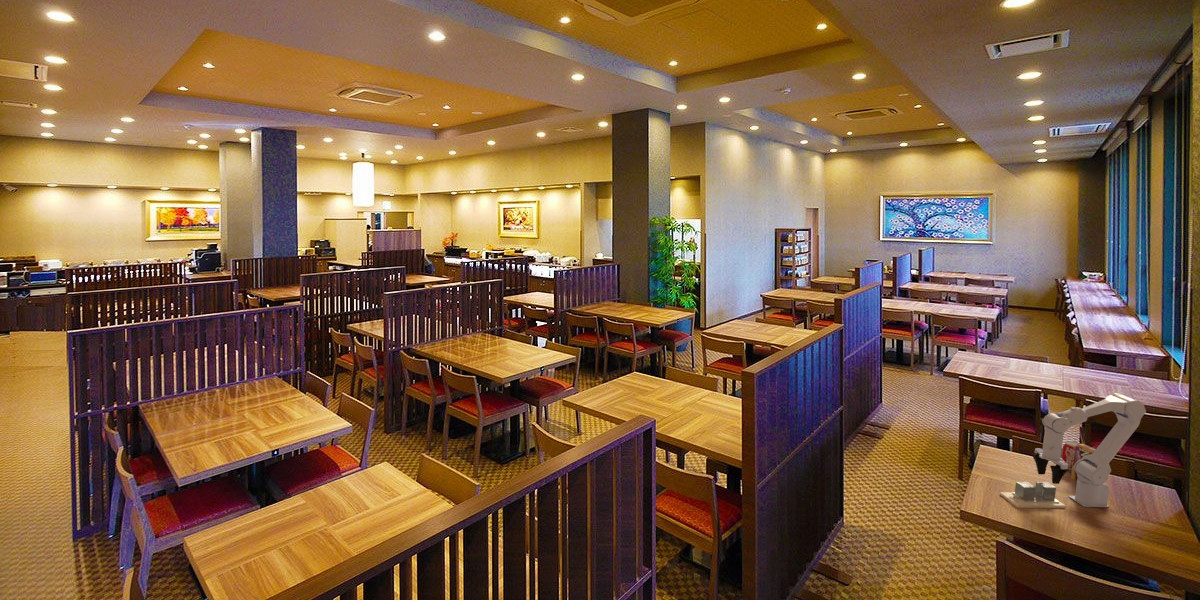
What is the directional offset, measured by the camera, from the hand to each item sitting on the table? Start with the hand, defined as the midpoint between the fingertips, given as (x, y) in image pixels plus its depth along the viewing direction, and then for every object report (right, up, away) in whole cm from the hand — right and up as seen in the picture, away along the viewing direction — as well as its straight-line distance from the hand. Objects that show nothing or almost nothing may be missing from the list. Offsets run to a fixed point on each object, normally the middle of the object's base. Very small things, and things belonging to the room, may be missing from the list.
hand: (1048, 478), depth 227 cm
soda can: (+30, -5, +28) cm, 41 cm away
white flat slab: (-4, -8, +1) cm, 9 cm away
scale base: (-6, -9, +1) cm, 11 cm away
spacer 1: (-8, -7, +1) cm, 11 cm away
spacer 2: (-1, -7, +1) cm, 8 cm away
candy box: (+27, -7, +16) cm, 32 cm away
